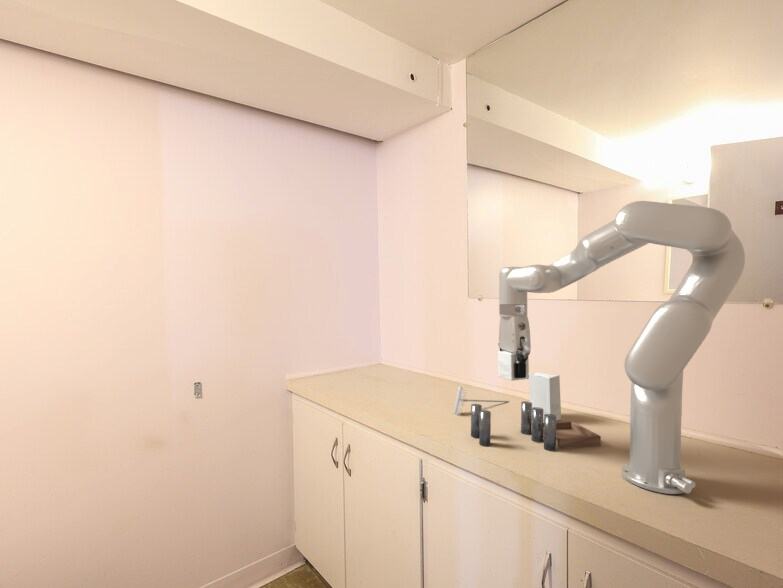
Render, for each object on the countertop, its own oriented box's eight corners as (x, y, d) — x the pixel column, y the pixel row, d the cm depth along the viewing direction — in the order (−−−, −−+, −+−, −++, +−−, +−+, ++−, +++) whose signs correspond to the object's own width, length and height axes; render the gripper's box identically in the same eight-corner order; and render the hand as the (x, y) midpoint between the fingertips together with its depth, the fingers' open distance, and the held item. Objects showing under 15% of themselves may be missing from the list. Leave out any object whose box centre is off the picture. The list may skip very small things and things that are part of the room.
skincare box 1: (529, 379, 107) (529, 352, 107) (511, 381, 105) (511, 353, 105) (514, 374, 113) (514, 349, 113) (497, 376, 111) (497, 350, 111)
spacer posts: (558, 450, 104) (558, 417, 104) (491, 455, 100) (492, 421, 100) (528, 430, 118) (528, 401, 118) (469, 434, 115) (469, 404, 115)
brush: (512, 417, 146) (518, 393, 146) (459, 417, 132) (465, 390, 131) (505, 413, 150) (510, 389, 149) (452, 412, 135) (458, 386, 135)
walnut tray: (600, 445, 107) (600, 436, 107) (559, 448, 105) (559, 439, 105) (571, 429, 120) (571, 420, 120) (533, 431, 117) (534, 423, 117)
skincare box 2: (561, 420, 128) (561, 375, 128) (550, 423, 125) (550, 377, 125) (539, 413, 135) (539, 370, 135) (528, 416, 132) (528, 372, 132)
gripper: (543, 312, 101) (543, 381, 101) (510, 309, 118) (510, 368, 118) (516, 312, 100) (516, 382, 100) (487, 309, 117) (487, 369, 117)
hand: (513, 374), depth 109 cm, fingers closed on skincare box 1, 6 cm apart
